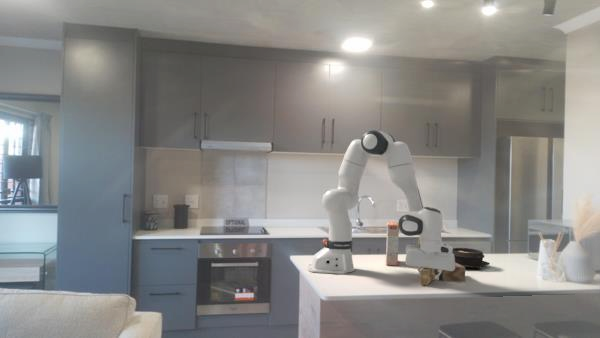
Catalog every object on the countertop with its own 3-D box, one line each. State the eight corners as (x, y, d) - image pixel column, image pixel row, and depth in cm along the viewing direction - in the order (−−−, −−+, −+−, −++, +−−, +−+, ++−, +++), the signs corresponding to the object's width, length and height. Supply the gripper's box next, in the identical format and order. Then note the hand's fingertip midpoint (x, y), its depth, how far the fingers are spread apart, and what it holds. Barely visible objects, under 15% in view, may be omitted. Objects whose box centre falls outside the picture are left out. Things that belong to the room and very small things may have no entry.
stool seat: (432, 280, 181) (432, 266, 181) (423, 273, 193) (423, 261, 193) (465, 280, 181) (465, 267, 181) (453, 274, 193) (453, 261, 193)
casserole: (461, 272, 198) (461, 255, 198) (434, 264, 215) (434, 248, 215) (499, 269, 207) (499, 252, 208) (470, 261, 224) (470, 246, 225)
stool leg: (431, 276, 186) (431, 263, 186) (437, 277, 184) (437, 264, 184) (420, 284, 172) (420, 269, 172) (426, 285, 171) (426, 270, 171)
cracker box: (398, 266, 208) (399, 225, 208) (386, 265, 209) (386, 224, 209) (397, 260, 221) (398, 222, 222) (386, 260, 223) (386, 221, 223)
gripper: (404, 244, 176) (403, 276, 176) (455, 249, 167) (454, 283, 167) (406, 242, 181) (405, 273, 181) (456, 247, 173) (455, 280, 173)
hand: (429, 278), depth 174 cm, fingers open, 5 cm apart
